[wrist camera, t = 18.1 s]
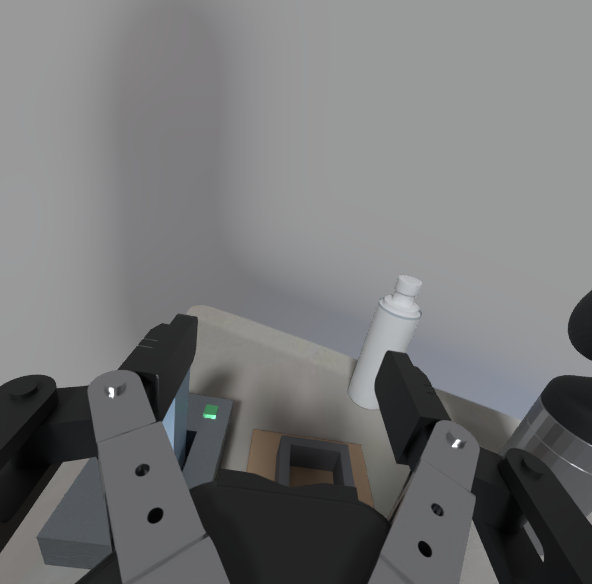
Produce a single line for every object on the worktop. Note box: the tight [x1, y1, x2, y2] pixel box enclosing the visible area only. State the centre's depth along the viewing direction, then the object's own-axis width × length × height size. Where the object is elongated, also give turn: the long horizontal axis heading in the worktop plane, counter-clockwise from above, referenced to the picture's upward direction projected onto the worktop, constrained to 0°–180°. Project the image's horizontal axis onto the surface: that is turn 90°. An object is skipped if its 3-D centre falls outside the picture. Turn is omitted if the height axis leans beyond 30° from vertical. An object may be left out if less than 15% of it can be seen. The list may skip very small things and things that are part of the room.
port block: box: [37, 394, 233, 569], centre depth 35 cm, size 18×13×5 cm
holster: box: [246, 429, 374, 508], centre depth 36 cm, size 16×16×5 cm
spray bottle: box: [348, 275, 422, 410], centre depth 50 cm, size 7×7×25 cm
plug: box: [162, 368, 190, 471], centre depth 32 cm, size 4×4×19 cm
